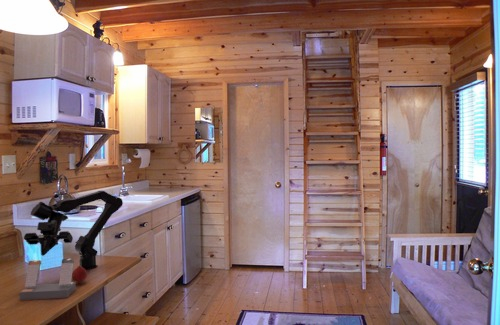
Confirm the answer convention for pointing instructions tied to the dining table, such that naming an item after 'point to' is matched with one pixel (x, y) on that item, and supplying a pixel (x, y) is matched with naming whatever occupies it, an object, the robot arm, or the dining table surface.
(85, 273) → the onion
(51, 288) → the switch box
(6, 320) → the dining table surface
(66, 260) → the grey lever
